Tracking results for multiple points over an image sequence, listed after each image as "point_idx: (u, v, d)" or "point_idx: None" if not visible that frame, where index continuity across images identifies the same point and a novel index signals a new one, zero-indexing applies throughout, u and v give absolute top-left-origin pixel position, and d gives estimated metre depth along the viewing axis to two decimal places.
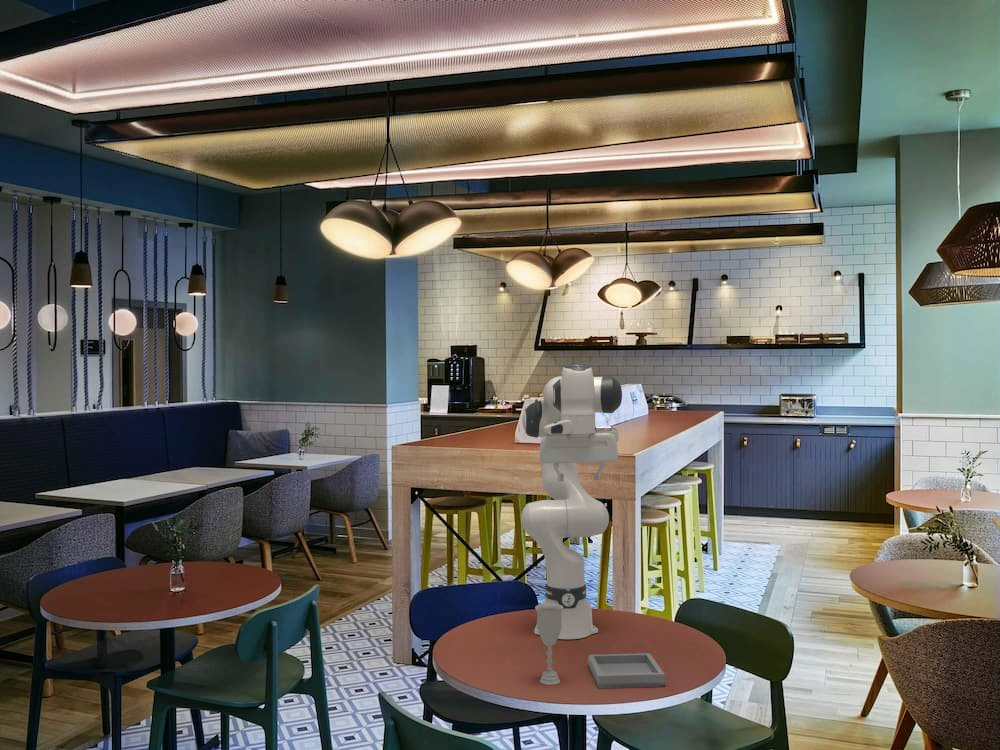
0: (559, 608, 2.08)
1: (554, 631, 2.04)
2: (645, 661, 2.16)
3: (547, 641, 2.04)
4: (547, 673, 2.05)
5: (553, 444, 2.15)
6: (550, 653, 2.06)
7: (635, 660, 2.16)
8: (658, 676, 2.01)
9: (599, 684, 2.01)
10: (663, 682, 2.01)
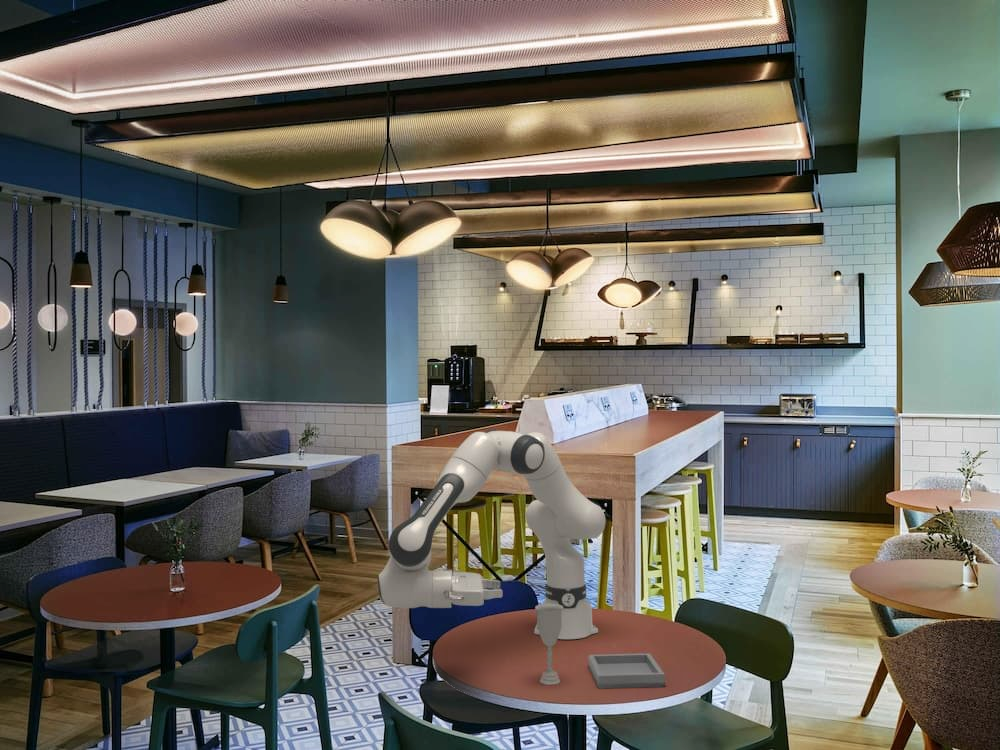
0: (559, 608, 2.08)
1: (554, 631, 2.04)
2: (645, 661, 2.16)
3: (547, 641, 2.04)
4: (547, 673, 2.05)
5: None
6: (550, 653, 2.06)
7: (635, 660, 2.16)
8: (658, 676, 2.01)
9: (599, 684, 2.01)
10: (663, 682, 2.01)
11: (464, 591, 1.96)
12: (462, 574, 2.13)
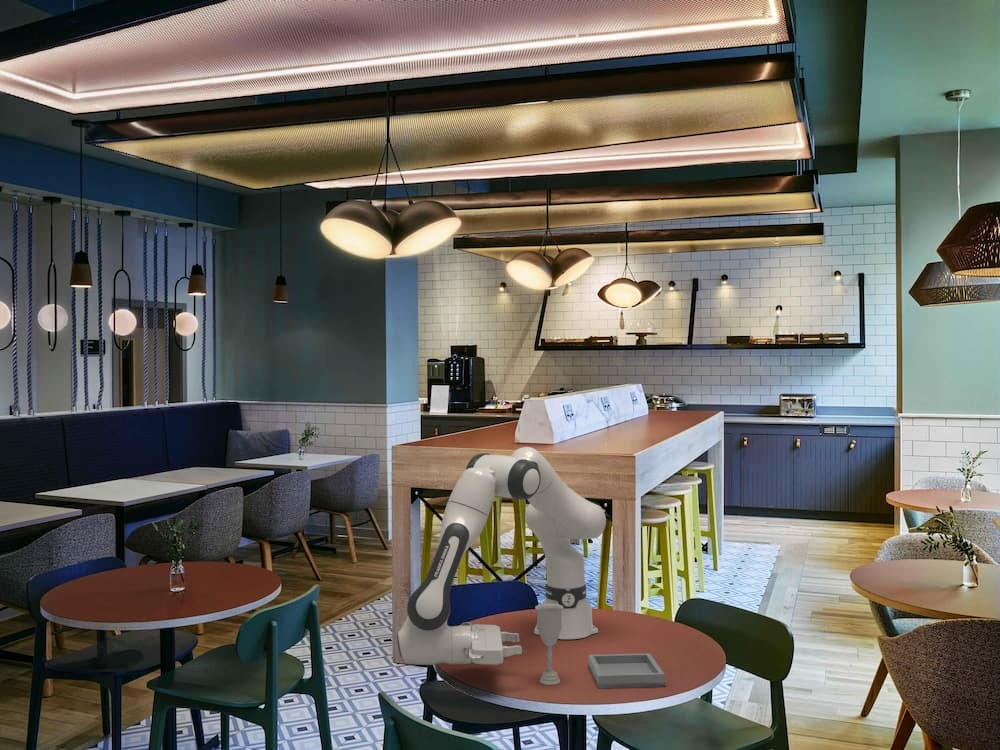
0: (559, 608, 2.08)
1: (554, 631, 2.04)
2: (645, 661, 2.16)
3: (547, 641, 2.04)
4: (547, 673, 2.05)
5: None
6: (550, 653, 2.06)
7: (635, 660, 2.16)
8: (658, 676, 2.01)
9: (599, 684, 2.01)
10: (663, 682, 2.01)
11: (484, 650, 1.96)
12: (481, 627, 2.13)
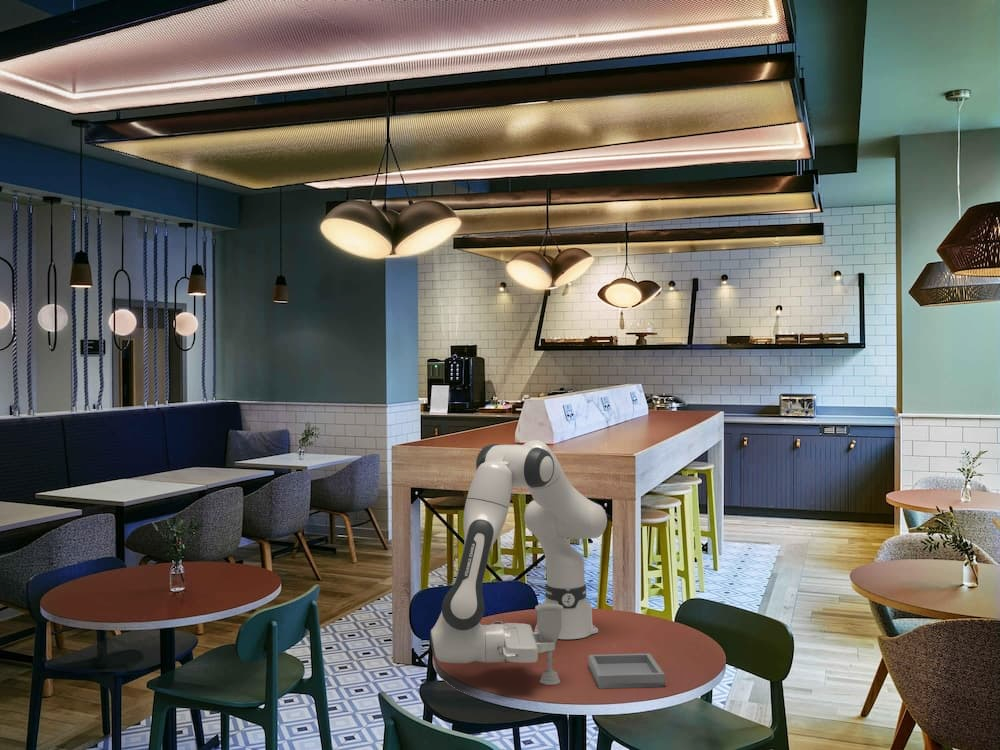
0: (559, 608, 2.08)
1: (554, 631, 2.04)
2: (645, 661, 2.16)
3: None
4: (547, 673, 2.05)
5: None
6: (550, 653, 2.06)
7: (635, 660, 2.16)
8: (658, 676, 2.01)
9: (599, 684, 2.01)
10: (663, 682, 2.01)
11: (518, 648, 1.96)
12: (513, 626, 2.14)
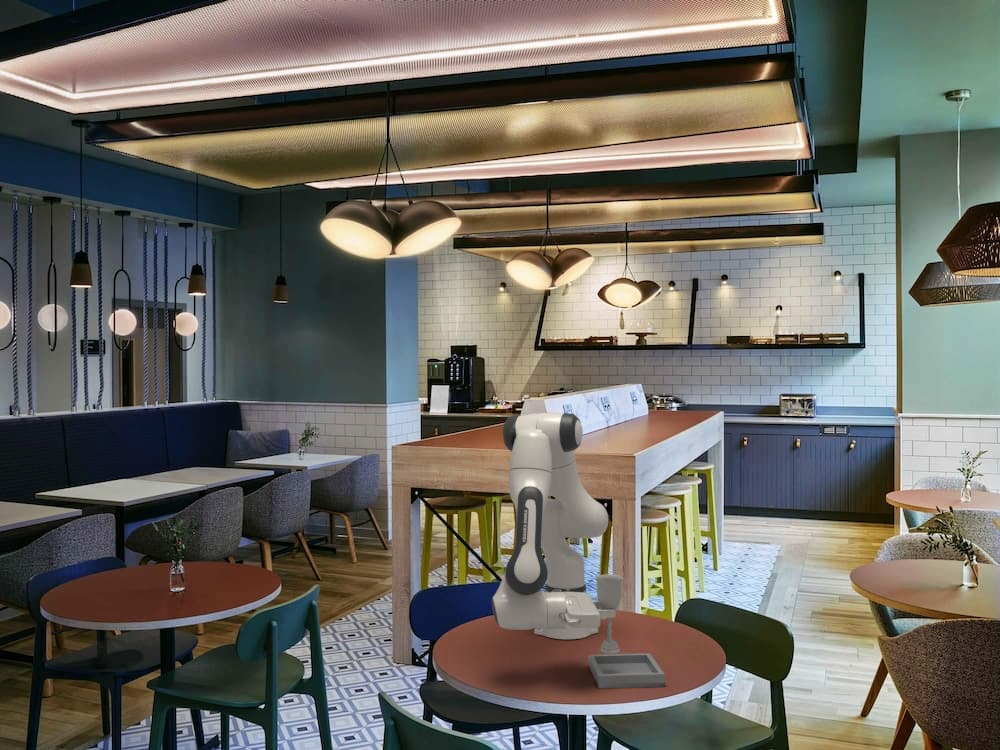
0: (619, 579, 2.10)
1: (614, 600, 2.06)
2: (645, 661, 2.16)
3: None
4: (607, 642, 2.08)
5: None
6: (610, 623, 2.08)
7: (635, 660, 2.16)
8: (658, 676, 2.01)
9: (599, 684, 2.01)
10: (663, 682, 2.01)
11: (581, 614, 1.99)
12: (571, 594, 2.16)
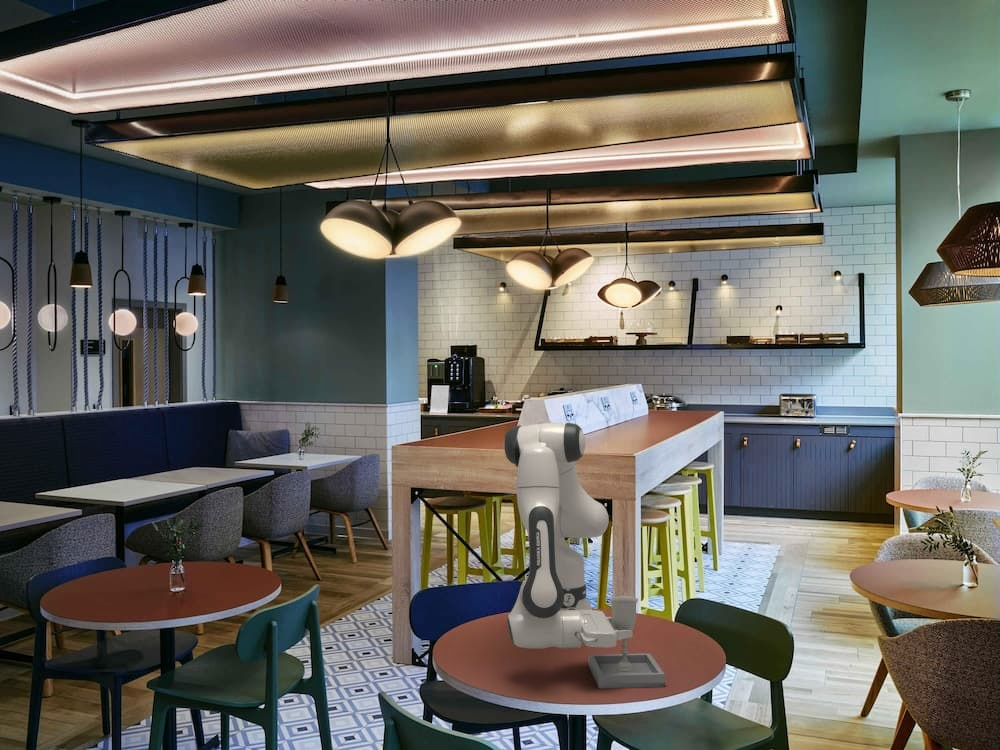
0: (634, 600, 2.11)
1: (629, 622, 2.07)
2: (645, 661, 2.16)
3: None
4: (622, 664, 2.08)
5: None
6: (625, 644, 2.08)
7: (635, 660, 2.16)
8: (658, 676, 2.01)
9: (599, 684, 2.01)
10: (663, 682, 2.01)
11: (597, 633, 1.99)
12: (586, 612, 2.17)
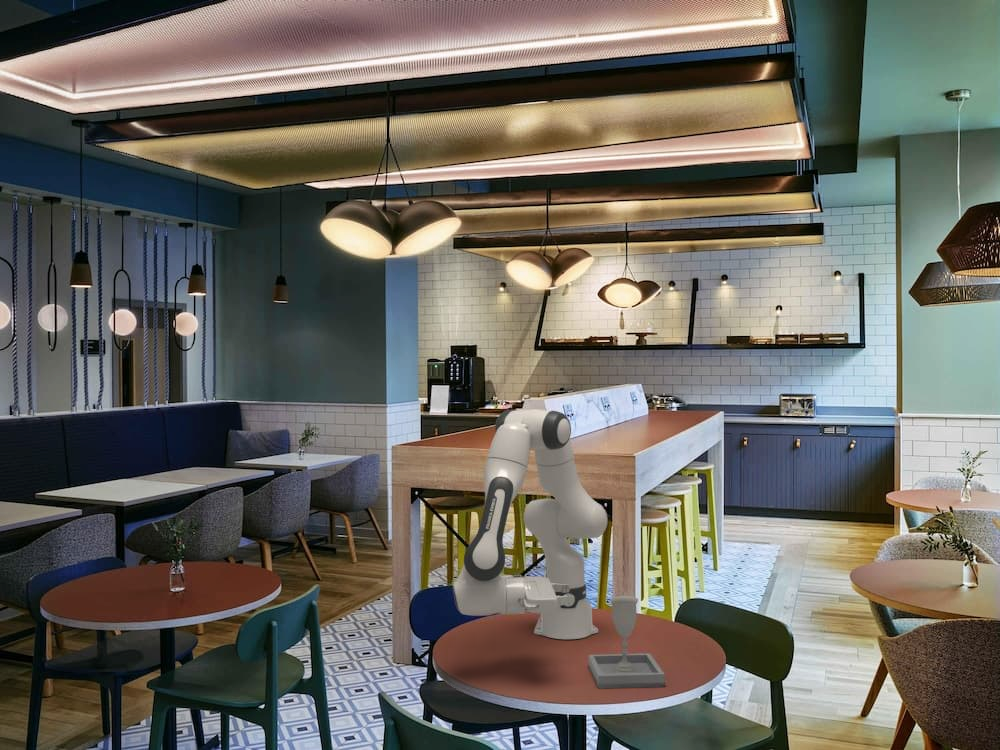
0: (634, 600, 2.11)
1: (629, 622, 2.07)
2: (645, 661, 2.16)
3: (622, 632, 2.07)
4: (622, 664, 2.08)
5: None
6: (625, 644, 2.08)
7: (635, 660, 2.16)
8: (658, 676, 2.01)
9: (599, 684, 2.01)
10: (663, 682, 2.01)
11: (539, 599, 2.03)
12: (531, 579, 2.20)
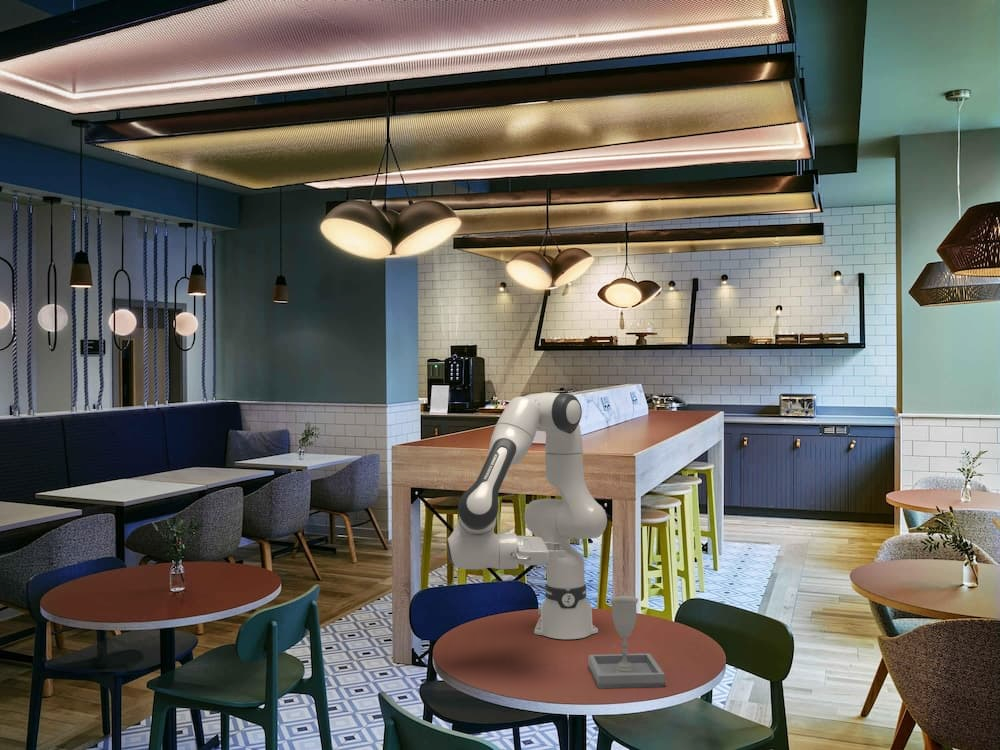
0: (634, 600, 2.11)
1: (629, 622, 2.07)
2: (645, 661, 2.16)
3: (622, 632, 2.07)
4: (622, 664, 2.08)
5: None
6: (625, 644, 2.08)
7: (635, 660, 2.16)
8: (658, 676, 2.01)
9: (599, 684, 2.01)
10: (663, 682, 2.01)
11: (531, 552, 2.07)
12: (524, 538, 2.24)
